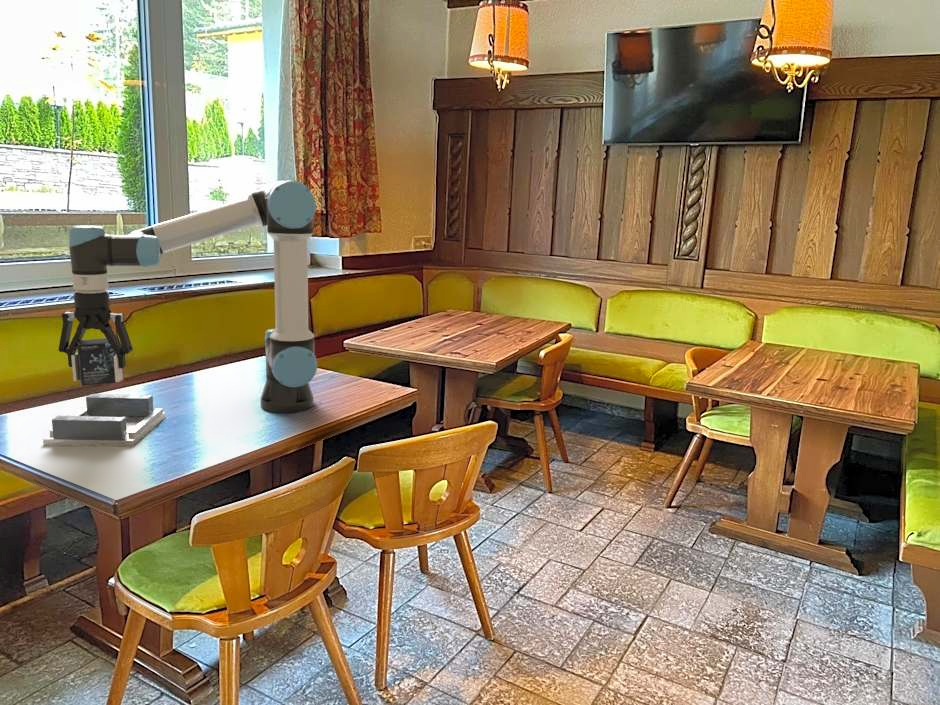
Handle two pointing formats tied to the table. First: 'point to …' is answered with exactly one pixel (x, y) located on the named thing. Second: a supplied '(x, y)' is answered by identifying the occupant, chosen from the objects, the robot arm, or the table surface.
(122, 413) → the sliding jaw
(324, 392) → the table surface
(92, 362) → the box
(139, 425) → the beige square tray
